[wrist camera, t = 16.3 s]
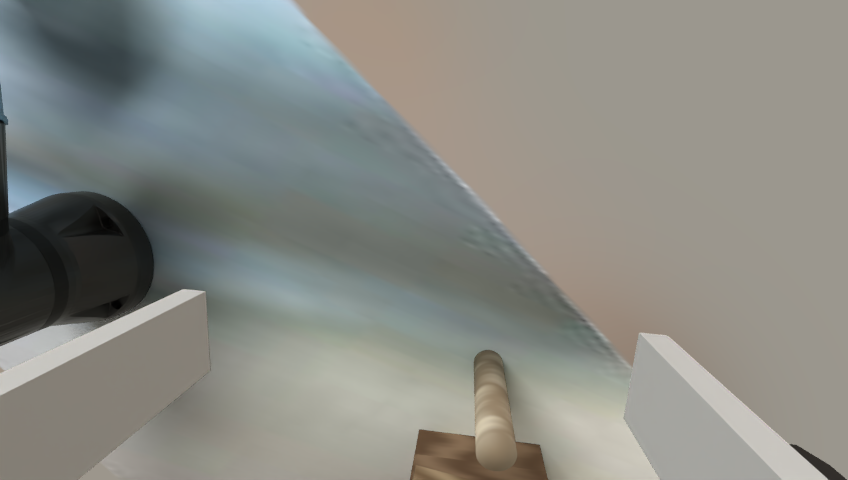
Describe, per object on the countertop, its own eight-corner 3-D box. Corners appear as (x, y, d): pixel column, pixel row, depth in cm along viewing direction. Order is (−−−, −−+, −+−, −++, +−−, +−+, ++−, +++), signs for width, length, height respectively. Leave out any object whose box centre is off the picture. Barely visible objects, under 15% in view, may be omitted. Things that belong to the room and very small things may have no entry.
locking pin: (473, 375, 45) (475, 469, 32) (474, 349, 45) (476, 434, 31) (502, 377, 45) (516, 473, 31) (503, 351, 44) (518, 437, 31)
